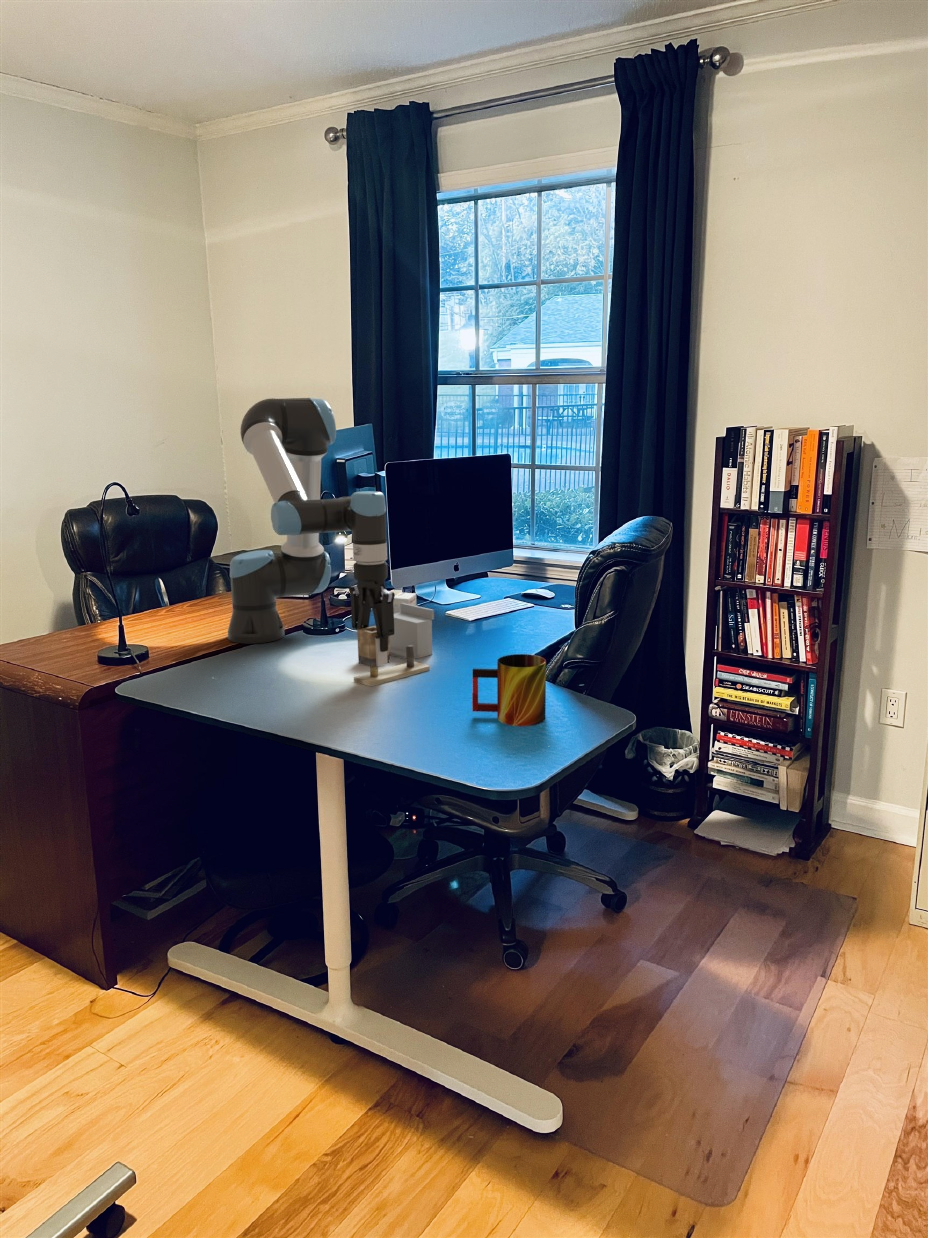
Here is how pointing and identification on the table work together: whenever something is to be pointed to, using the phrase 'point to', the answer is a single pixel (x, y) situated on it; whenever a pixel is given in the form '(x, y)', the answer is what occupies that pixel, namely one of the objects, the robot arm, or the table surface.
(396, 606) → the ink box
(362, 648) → the sleeve
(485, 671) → the mug
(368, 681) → the pin board
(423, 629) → the chute
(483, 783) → the table surface
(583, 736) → the table surface
